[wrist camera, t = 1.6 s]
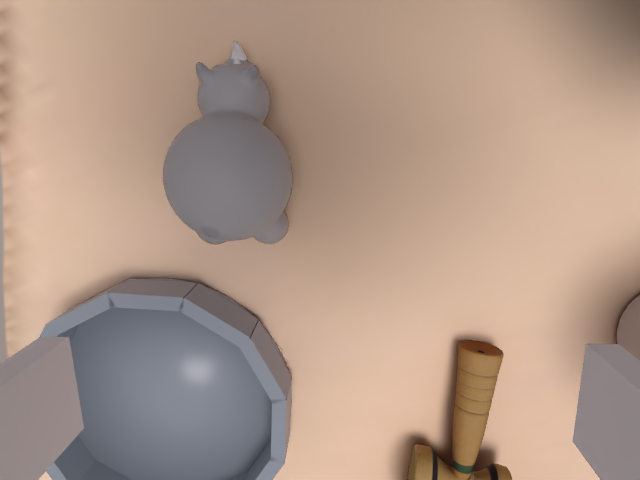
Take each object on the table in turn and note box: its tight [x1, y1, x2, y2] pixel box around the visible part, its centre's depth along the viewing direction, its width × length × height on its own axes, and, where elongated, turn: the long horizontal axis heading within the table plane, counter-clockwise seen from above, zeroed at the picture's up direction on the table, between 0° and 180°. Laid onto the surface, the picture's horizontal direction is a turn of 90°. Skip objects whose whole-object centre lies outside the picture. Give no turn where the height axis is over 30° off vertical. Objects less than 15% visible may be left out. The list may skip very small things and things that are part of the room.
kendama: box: [408, 341, 512, 480], centre depth 32 cm, size 8×6×18 cm
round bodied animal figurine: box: [163, 41, 292, 244], centre depth 26 cm, size 7×12×8 cm, turn 177°
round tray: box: [39, 278, 292, 480], centre depth 33 cm, size 19×19×4 cm
